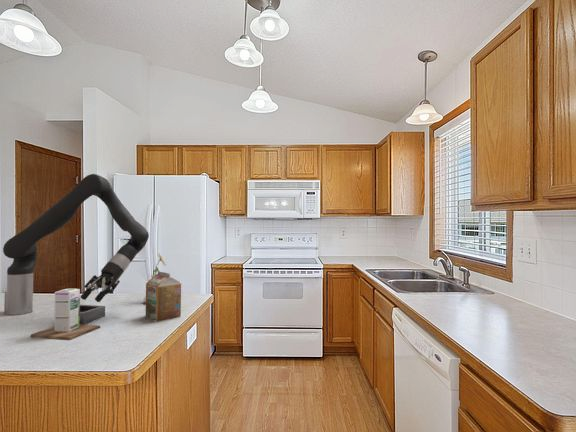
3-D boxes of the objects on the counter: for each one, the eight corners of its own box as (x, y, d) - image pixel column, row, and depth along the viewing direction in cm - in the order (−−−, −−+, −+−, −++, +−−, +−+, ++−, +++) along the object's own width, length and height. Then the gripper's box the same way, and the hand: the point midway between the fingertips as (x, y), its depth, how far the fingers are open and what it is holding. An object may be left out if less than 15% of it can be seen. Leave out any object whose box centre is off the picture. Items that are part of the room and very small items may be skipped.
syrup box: (69, 332, 122) (70, 291, 122) (53, 331, 122) (54, 291, 122) (79, 327, 127) (80, 288, 128) (64, 326, 128) (65, 288, 128)
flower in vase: (162, 305, 166) (163, 253, 167) (139, 305, 166) (139, 253, 167) (171, 299, 179) (172, 251, 180) (150, 299, 179) (151, 251, 180)
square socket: (57, 322, 135) (57, 311, 136) (80, 315, 147) (80, 304, 147) (83, 324, 133) (83, 313, 133) (105, 316, 145) (105, 305, 145)
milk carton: (180, 316, 146) (181, 272, 146) (157, 321, 138) (157, 274, 139) (168, 312, 153) (169, 269, 154) (145, 316, 146) (146, 272, 146)
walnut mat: (30, 336, 119) (30, 334, 119) (63, 325, 133) (63, 323, 133) (70, 339, 116) (70, 337, 116) (100, 327, 130) (100, 325, 130)
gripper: (99, 260, 143) (71, 292, 133) (122, 262, 137) (95, 295, 127) (110, 271, 148) (84, 303, 137) (133, 273, 142) (108, 307, 131)
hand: (89, 299), depth 132 cm, fingers open, 8 cm apart
